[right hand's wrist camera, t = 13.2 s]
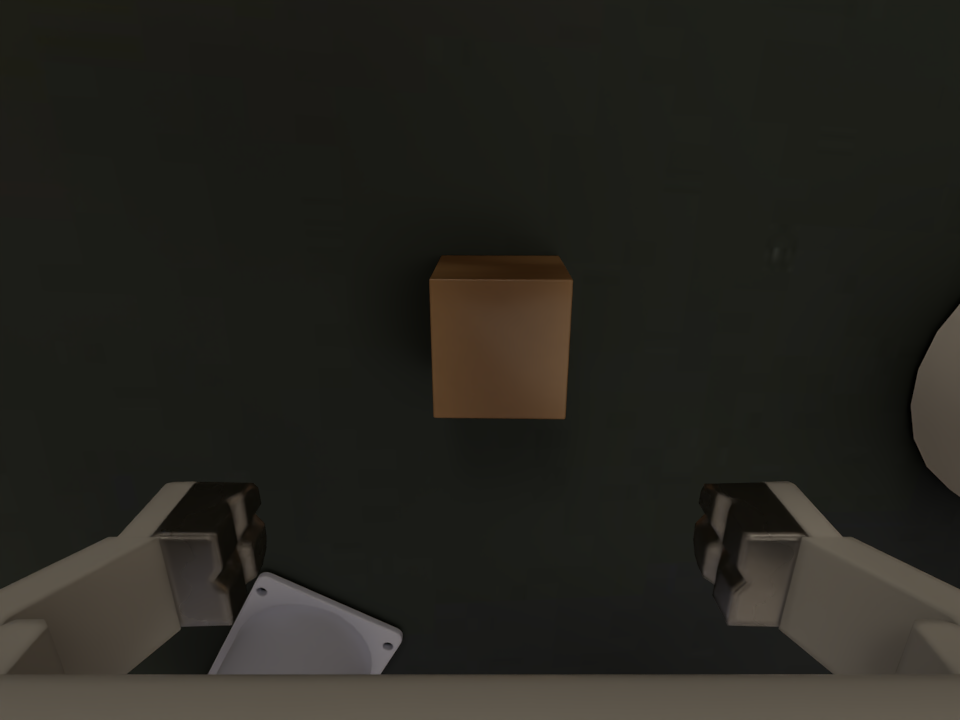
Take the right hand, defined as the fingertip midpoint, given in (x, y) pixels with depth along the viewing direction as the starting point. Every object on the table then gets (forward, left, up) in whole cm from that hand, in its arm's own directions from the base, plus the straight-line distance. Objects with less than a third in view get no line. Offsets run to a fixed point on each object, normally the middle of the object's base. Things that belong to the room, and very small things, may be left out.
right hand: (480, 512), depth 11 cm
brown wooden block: (+1, 0, -14) cm, 14 cm away
